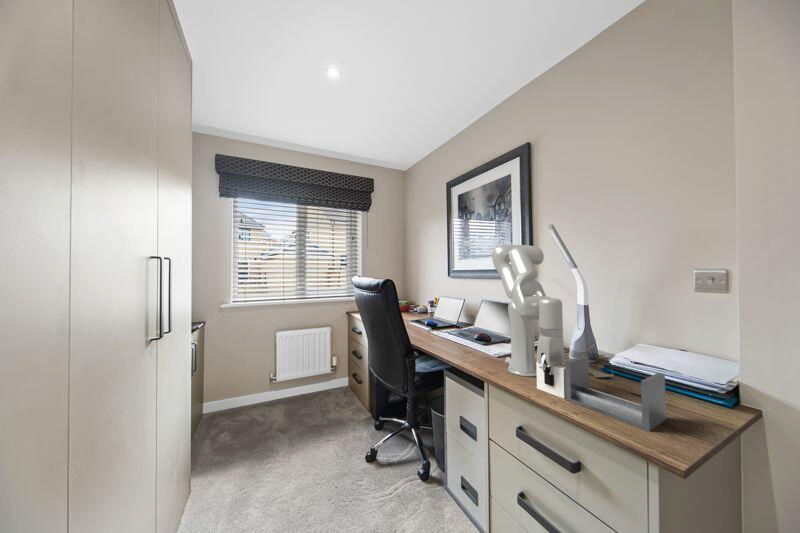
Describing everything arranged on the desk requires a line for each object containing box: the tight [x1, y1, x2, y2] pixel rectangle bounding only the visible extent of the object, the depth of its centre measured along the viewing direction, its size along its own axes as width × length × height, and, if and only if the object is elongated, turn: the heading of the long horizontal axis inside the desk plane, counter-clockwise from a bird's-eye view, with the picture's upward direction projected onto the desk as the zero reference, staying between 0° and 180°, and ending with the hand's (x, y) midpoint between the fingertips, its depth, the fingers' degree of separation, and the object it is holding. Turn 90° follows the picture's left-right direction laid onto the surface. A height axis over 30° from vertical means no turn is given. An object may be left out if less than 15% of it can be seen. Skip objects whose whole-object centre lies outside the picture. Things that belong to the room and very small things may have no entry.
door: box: [535, 360, 566, 400], centre depth 100 cm, size 10×3×10 cm, turn 30°
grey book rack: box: [564, 356, 667, 432], centre depth 88 cm, size 22×12×13 cm, turn 30°
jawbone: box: [580, 343, 615, 379], centre depth 121 cm, size 14×8×15 cm
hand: (552, 383), depth 100 cm, fingers closed on door, 3 cm apart
